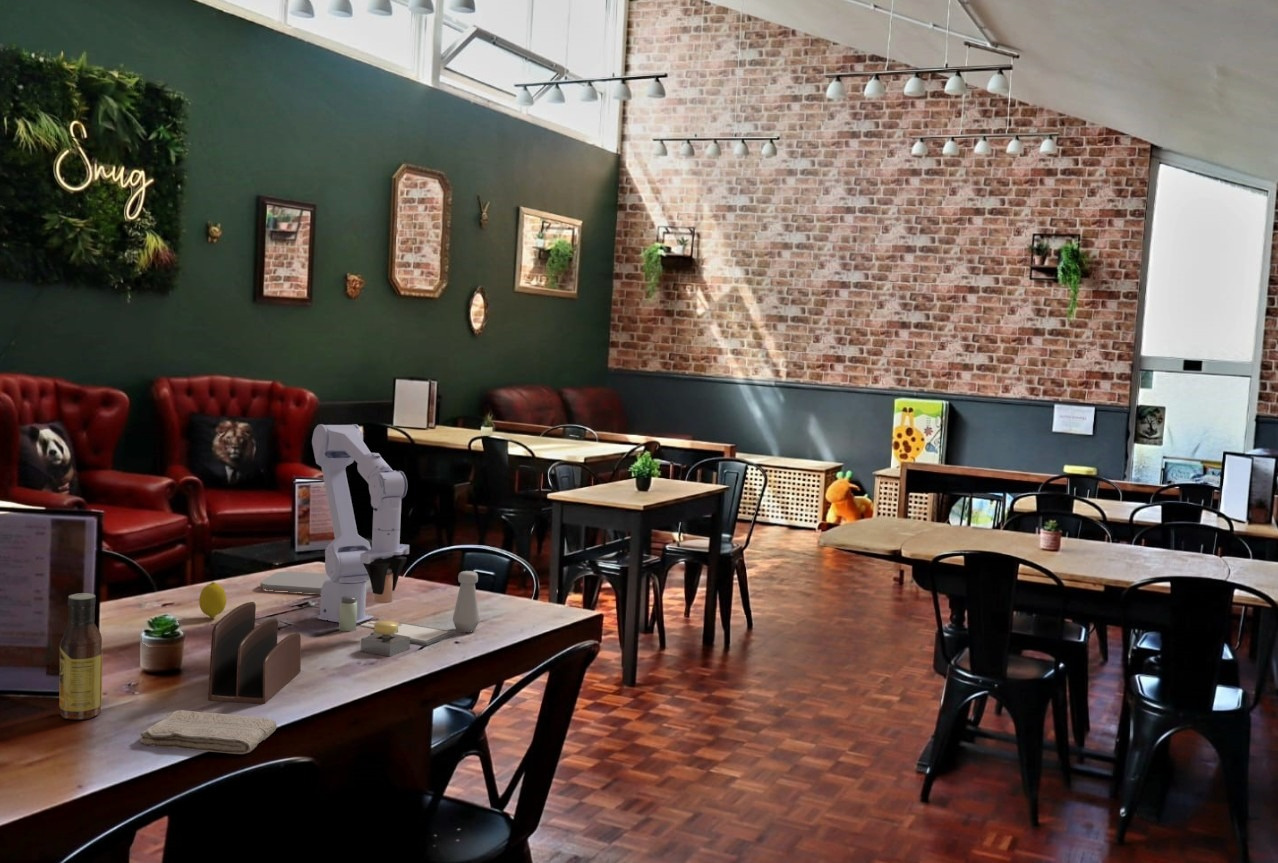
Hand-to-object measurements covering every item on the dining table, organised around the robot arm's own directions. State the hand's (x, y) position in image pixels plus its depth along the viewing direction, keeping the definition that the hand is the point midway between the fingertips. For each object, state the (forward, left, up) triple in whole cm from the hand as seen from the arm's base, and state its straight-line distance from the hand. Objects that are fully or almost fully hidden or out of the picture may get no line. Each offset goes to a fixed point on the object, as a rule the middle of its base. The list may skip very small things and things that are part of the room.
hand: (383, 592), depth 249 cm
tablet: (-39, +29, -10) cm, 50 cm away
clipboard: (+5, +4, -9) cm, 11 cm away
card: (-6, +6, -9) cm, 13 cm away
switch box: (+7, -9, -9) cm, 15 cm away
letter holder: (+2, -41, -10) cm, 43 cm away
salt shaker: (+12, +14, -10) cm, 21 cm away
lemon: (-38, -9, -10) cm, 40 cm away
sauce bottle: (-10, -69, -10) cm, 70 cm away
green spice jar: (-9, 0, -9) cm, 13 cm away
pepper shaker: (0, 0, -2) cm, 2 cm away
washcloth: (+14, -66, -10) cm, 68 cm away
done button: (+7, -9, -8) cm, 14 cm away
